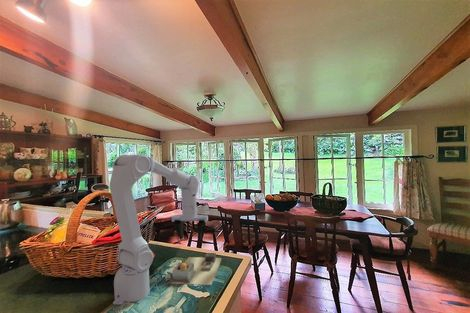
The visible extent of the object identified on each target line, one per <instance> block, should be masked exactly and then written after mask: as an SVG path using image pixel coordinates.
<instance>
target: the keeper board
mask: <svg viewBox="0 0 470 313" xmlns="http://www.w3.org/2000/svg"><path fill="white" fill-rule="evenodd" d="M204 256H205V257H203V256H199V257H198V256H197V257H196V256H193V257H192V256H189V257H187V259H186V260H185V262H184V263H194V271H196V272H195V274H194V276H193V277H192V279H191V281H190V282H171V281H170V284H173V285H175V284H176V285H177V284H179V285H181V284H182V285H203V286H204V285H205V286H212V285H213V283H214V280H215V277H216V275H217V272H218V269H219V267H220V264H221V262H222V258H223V257H217V252H206V254H205V255H204Z"/></svg>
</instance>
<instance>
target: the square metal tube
mask: <svg viewBox="0 0 470 313" xmlns="http://www.w3.org/2000/svg"><path fill="white" fill-rule="evenodd" d="M182 263H183V262H178V263H177V264H176V266H175V267H174V268H173V270H172V279H173V280H188V281H189V279H190V278H191V276H192V274H193V272H194V263H185V262H184V263H185V264H186V265H187V270H180V265H181V264H182Z"/></svg>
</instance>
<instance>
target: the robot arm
mask: <svg viewBox="0 0 470 313" xmlns="http://www.w3.org/2000/svg"><path fill="white" fill-rule="evenodd" d="M111 166H112V174H111V177H110V181H109V190H110V194H111V200H112V203H113V206H114V207H113V208H114V212H115V217H116V221H117V225H118V230H119V234H120V237H121V241H120V243H118V245H117V247H118V254H117V262H118V263H119V264H120V265H122V267H120V268H119V269H118V270H117V271H116V273H115V275H114V278H113V279H114V280H113V288H114V290H113V291H114V292H113V293H114V301H113V302H112V303H113V304H112V305H119V306H120V305H123V303H124V302H125V301H126V302H129V303H134V302H139V301H141V300H144V299H145V298H146V297H147V296H148V295H149V294H150V292H151V289H150V288H151V287H150V284H151V283H150V266H152V264H153V261H154V258H153V253H154V252H153V251H152V249H150V247H149V244H148V242H147V241H146V240H145V239H144V238H143V235H142V232H141V226H140V222H139V218H138V213H137V208H136V203H135V199H134V195H133V194H134V193H133V189H132V188H133V186H134V185H135V184H136V183H137V182H138V181H139V180H141V178H143V177H144V176H145V175H146V174H148V173H149V172H151V173H154V174H156V175H159V176H162V177H164V178H165V180H166V182H168V183H170V184H172V185H174V186H176V187H178V189H179V190H181V192H180V193H181V211H182V212H181V213H182V214H178V215H172V216H171V222H173V224H172V225H173V227H174V229H175V230H176V232H177V234H178V238H179V241H182V240H183V239H184V223H185V222H197V223H196V227H197V239H198V241H201V240H202V239H203V238H202V237H203V236H202V235H203V231H204V228H205V225H206V223H207V222H208V221H209V215H207V214H206V215H204V214H198V210H197V209H198V207H197V193H198V187H199V185H200V182H199V179H198V178H197V176H196V175H189V173H188V172H184V171H182V170H181V168H180V167H178V166H177V167H171V168H169V167H168V166H165V165H164V164H162V163H161V162H159V161H157V160H156V159H154V158H153V157H151V156H147V155H146V154H143V153H139V154H121V155H119V156H118V157H117V158H116V159H115V160H114V161H113V162H112V164H111Z"/></svg>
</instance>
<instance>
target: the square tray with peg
mask: <svg viewBox="0 0 470 313" xmlns="http://www.w3.org/2000/svg"><path fill="white" fill-rule="evenodd" d="M181 263H182V264H181V265H180V270H187V265H186V264H185V262H181ZM195 272H196V271H194V272H193V274H192V276H191V278H190V279H189V281H188V280H173V278H172V279H171V280H170V283H171V282H190V281H191V279H192V277H193V276H194V274H195Z"/></svg>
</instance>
